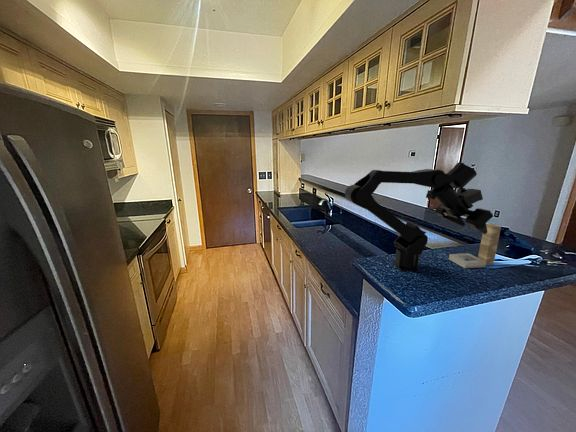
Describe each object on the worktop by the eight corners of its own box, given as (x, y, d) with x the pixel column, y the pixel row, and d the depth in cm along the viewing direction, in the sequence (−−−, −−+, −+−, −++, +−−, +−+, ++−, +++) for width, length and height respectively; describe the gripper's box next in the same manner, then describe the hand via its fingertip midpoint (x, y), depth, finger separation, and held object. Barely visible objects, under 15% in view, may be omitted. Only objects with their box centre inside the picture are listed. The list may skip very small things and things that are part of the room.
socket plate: (464, 268, 83) (465, 262, 82) (448, 259, 90) (449, 254, 90) (485, 267, 83) (486, 261, 83) (467, 258, 91) (468, 253, 90)
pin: (484, 264, 85) (492, 226, 82) (477, 261, 88) (484, 224, 85) (493, 264, 85) (501, 226, 82) (485, 260, 89) (492, 224, 85)
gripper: (493, 184, 70) (520, 219, 73) (447, 178, 88) (470, 207, 91) (463, 211, 71) (491, 244, 75) (424, 200, 89) (448, 227, 93)
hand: (474, 229), depth 83 cm, fingers open, 9 cm apart
